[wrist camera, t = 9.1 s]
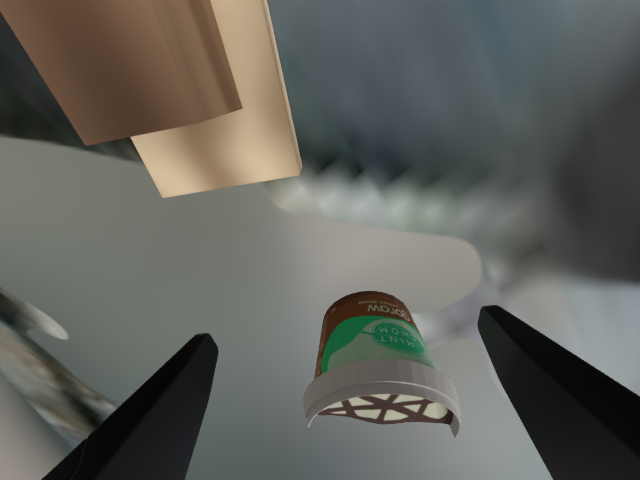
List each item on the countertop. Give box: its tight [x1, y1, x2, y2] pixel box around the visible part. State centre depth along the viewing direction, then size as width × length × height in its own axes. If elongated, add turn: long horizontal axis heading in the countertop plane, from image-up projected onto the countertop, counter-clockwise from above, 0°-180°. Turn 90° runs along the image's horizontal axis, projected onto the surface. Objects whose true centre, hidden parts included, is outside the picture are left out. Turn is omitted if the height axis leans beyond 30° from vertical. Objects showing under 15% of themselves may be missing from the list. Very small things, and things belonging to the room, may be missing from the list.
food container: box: [303, 291, 461, 438], centre depth 22 cm, size 12×6×10 cm, turn 85°
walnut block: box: [0, 0, 243, 146], centre depth 11 cm, size 5×5×6 cm
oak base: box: [130, 0, 302, 198], centre depth 15 cm, size 10×14×2 cm
